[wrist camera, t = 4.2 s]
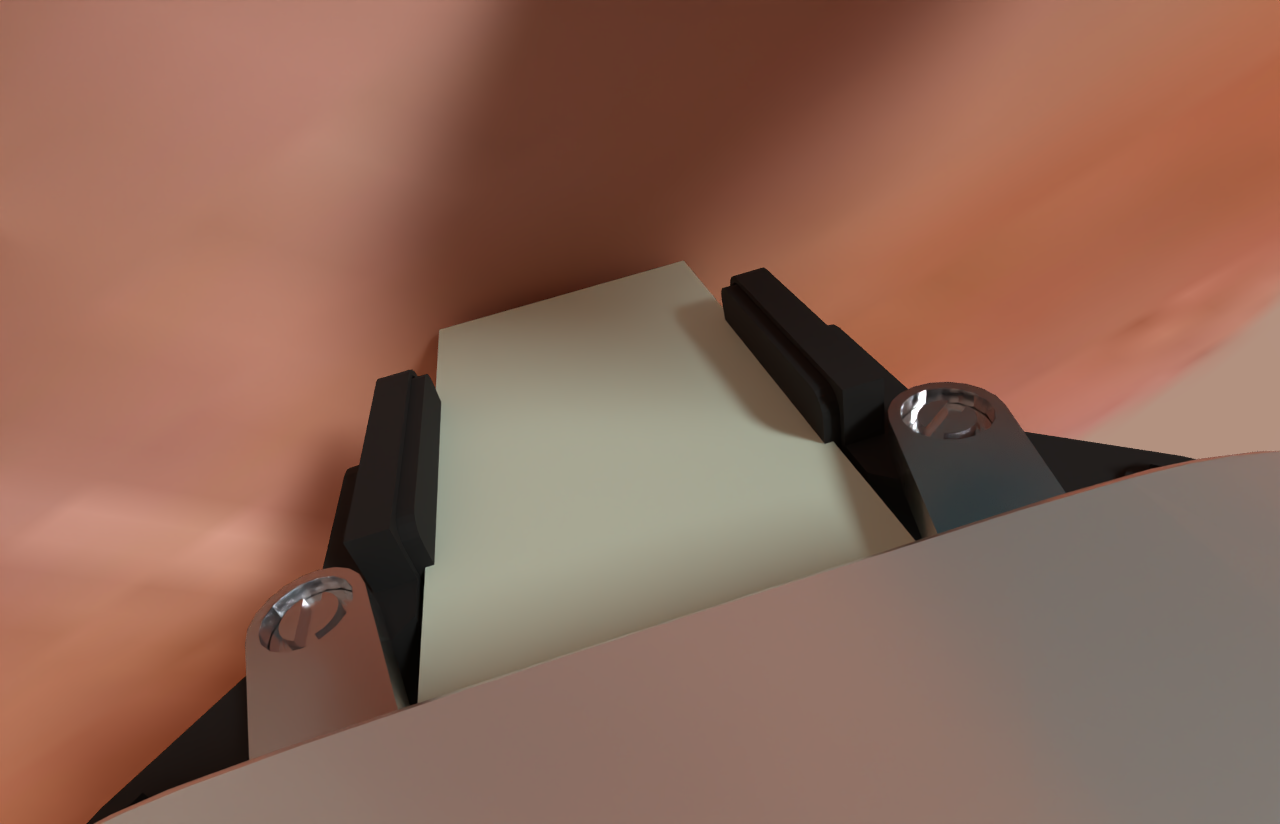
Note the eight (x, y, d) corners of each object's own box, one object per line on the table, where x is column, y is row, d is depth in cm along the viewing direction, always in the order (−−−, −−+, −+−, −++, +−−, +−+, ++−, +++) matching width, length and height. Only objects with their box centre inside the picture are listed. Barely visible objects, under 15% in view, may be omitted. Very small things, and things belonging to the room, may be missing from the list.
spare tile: (439, 329, 13) (413, 759, 6) (684, 260, 14) (949, 582, 6) (466, 397, 14) (474, 846, 7) (696, 330, 15) (943, 685, 7)
